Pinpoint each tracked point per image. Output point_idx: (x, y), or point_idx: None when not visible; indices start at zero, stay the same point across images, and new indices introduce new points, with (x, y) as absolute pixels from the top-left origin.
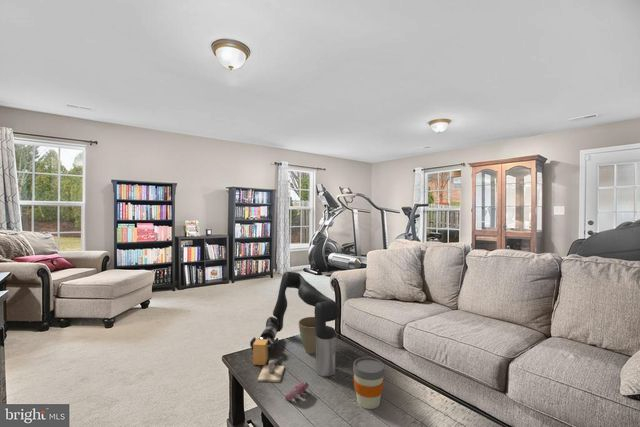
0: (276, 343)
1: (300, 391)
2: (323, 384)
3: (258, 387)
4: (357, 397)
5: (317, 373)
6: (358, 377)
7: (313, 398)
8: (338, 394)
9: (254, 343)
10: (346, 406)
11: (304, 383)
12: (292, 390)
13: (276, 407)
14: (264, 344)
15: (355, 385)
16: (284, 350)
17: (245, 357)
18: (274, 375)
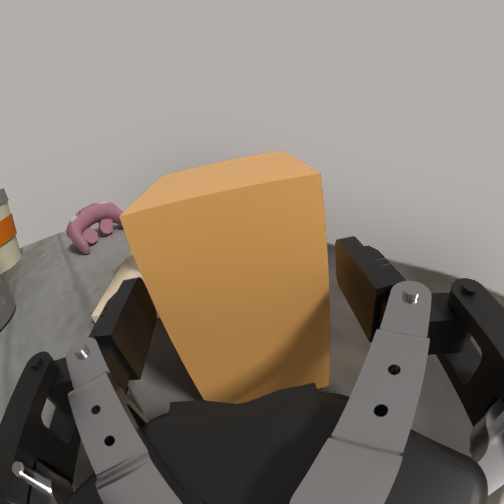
0: (41, 360)
1: (92, 230)
2: (30, 280)
3: None
4: (16, 248)
5: (14, 305)
6: (7, 202)
7: (74, 245)
8: (28, 265)
9: (279, 155)
10: (38, 250)
11: (76, 214)
12: (109, 202)
13: None
14: (168, 175)
15: (11, 223)
16: None
17: (434, 362)
18: None
